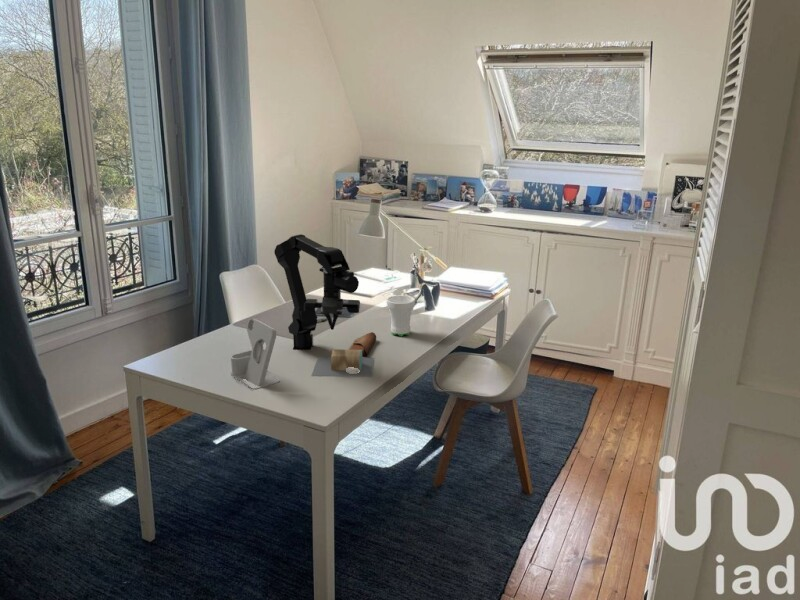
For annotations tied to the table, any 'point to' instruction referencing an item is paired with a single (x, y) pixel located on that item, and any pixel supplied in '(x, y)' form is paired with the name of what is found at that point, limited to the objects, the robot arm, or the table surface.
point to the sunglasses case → (364, 343)
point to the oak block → (346, 359)
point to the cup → (400, 313)
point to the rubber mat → (324, 369)
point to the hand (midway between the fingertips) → (332, 329)
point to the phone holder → (256, 357)
